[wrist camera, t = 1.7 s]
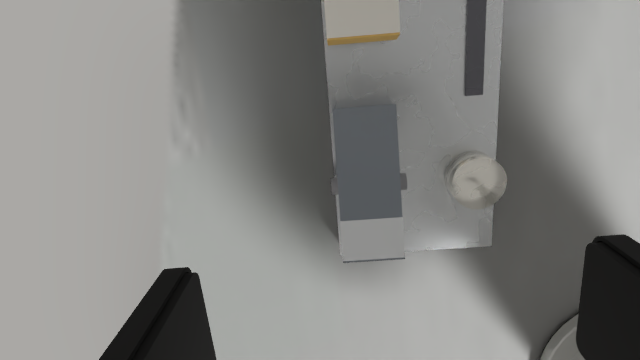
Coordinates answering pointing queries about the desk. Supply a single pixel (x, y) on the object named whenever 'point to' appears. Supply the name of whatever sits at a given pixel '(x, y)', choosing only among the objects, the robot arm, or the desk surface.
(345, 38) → the amber rocker
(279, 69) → the desk surface
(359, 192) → the slate rocker
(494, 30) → the panel
